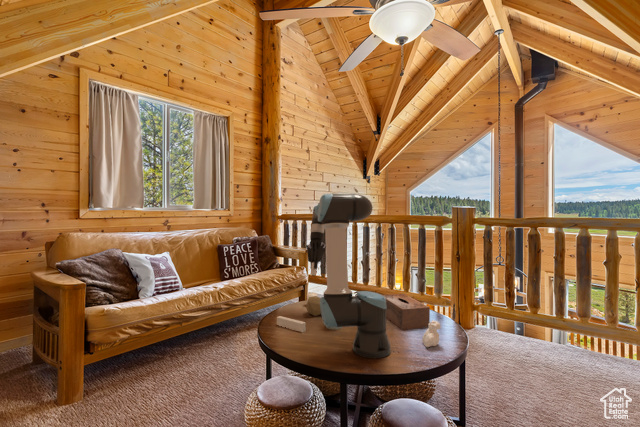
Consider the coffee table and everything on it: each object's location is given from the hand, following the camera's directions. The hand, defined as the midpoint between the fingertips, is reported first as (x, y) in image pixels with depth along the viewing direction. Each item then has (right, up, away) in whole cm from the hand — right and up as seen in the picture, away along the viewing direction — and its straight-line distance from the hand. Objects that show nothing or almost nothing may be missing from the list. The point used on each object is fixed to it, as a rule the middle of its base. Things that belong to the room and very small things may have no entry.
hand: (313, 274), depth 174 cm
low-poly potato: (+3, -22, +1) cm, 22 cm away
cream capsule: (-1, -22, +17) cm, 27 cm away
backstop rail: (-10, -22, -19) cm, 31 cm away
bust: (+51, -23, -37) cm, 67 cm away
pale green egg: (+11, -22, -17) cm, 30 cm away
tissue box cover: (+47, -22, -6) cm, 53 cm away
